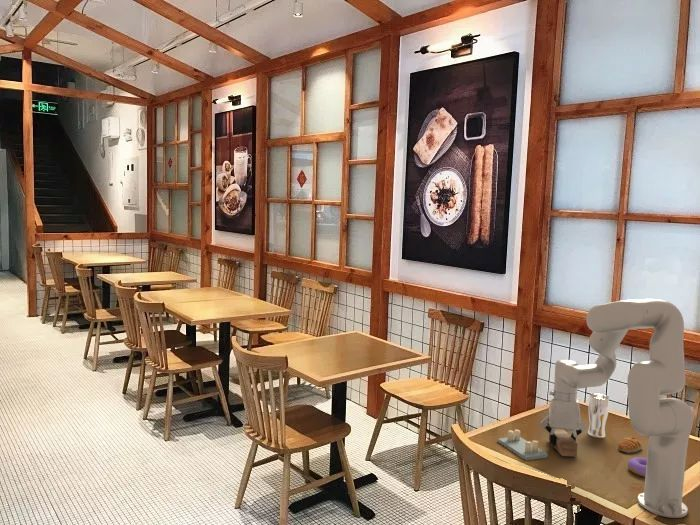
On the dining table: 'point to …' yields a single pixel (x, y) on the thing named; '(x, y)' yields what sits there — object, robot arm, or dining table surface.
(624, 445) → the pastry
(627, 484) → the dining table surface
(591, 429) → the beer glass
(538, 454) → the peg board
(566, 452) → the plank
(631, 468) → the donut
